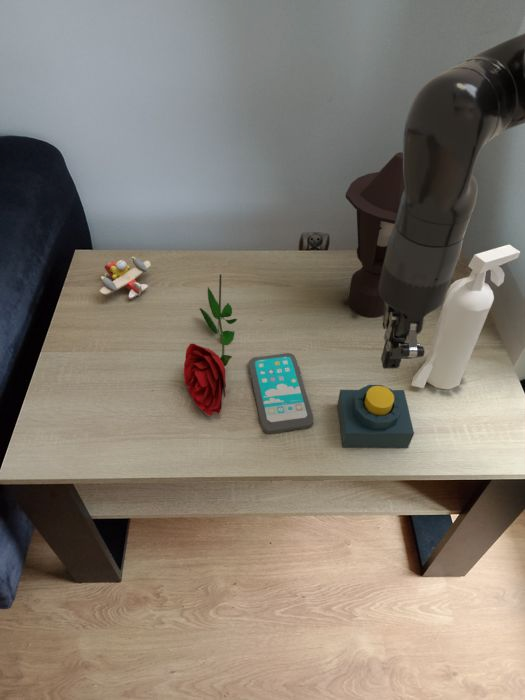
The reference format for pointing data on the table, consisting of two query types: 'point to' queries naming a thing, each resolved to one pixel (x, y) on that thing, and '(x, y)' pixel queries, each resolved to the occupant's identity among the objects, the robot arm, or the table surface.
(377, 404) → the button
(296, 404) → the smartphone
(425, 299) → the robot arm
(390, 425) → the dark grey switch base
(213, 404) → the flower
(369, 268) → the lantern
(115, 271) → the toy airplane
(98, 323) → the table surface
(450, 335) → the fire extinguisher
